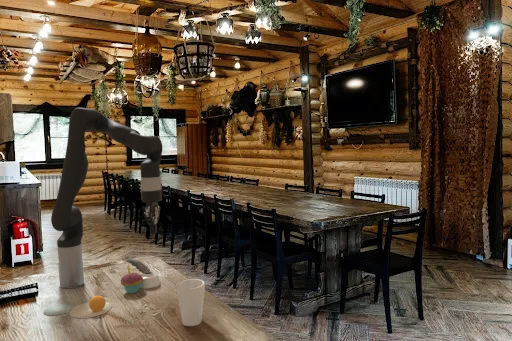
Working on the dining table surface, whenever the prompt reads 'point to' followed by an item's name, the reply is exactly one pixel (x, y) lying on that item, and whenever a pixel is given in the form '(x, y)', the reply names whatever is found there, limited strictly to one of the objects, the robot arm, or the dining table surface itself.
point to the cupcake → (131, 281)
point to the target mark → (88, 311)
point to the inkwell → (145, 274)
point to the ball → (97, 303)
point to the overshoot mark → (58, 309)
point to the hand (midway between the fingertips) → (153, 233)
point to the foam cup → (191, 300)
